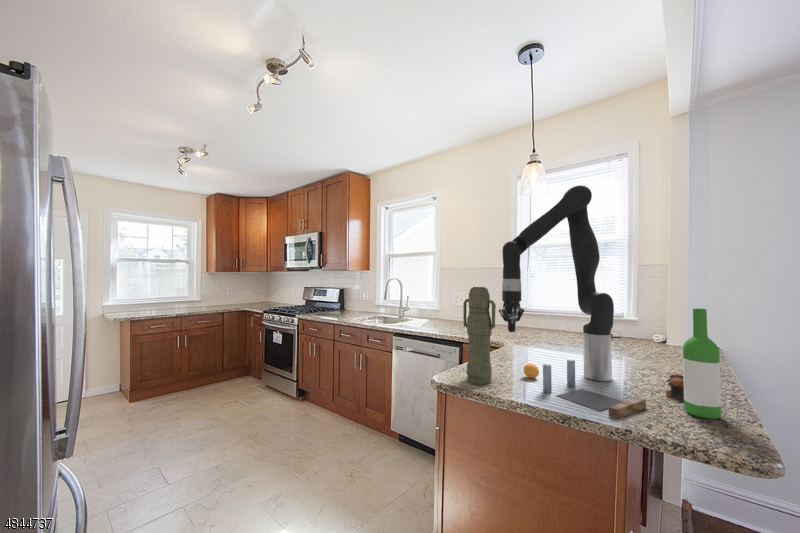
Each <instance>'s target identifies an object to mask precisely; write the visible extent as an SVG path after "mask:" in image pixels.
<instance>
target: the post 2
mask: <svg viewBox="0 0 800 533" xmlns="http://www.w3.org/2000/svg"><path fill="white" fill-rule="evenodd" d="M566 386H567V387H570V388H575V387H576V360H574V359H566Z"/></svg>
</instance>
